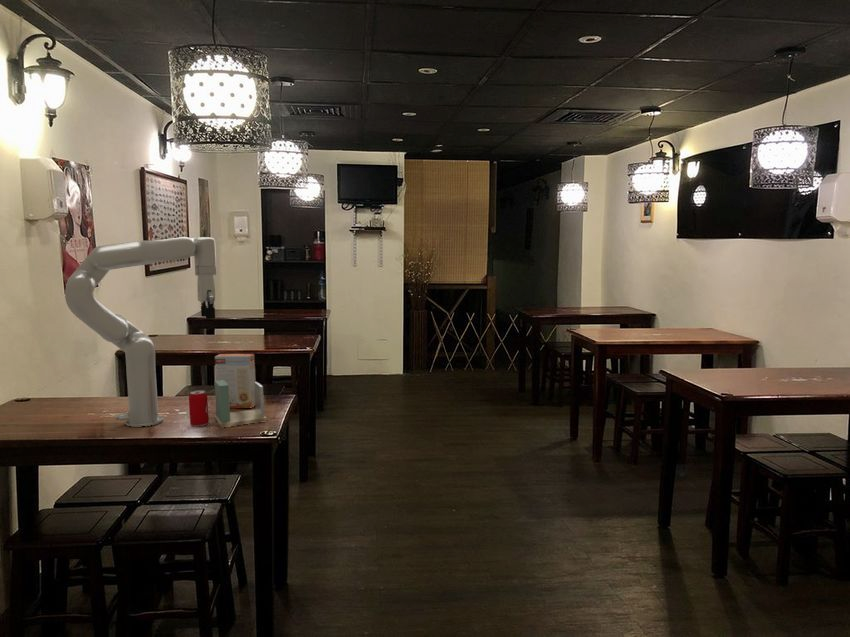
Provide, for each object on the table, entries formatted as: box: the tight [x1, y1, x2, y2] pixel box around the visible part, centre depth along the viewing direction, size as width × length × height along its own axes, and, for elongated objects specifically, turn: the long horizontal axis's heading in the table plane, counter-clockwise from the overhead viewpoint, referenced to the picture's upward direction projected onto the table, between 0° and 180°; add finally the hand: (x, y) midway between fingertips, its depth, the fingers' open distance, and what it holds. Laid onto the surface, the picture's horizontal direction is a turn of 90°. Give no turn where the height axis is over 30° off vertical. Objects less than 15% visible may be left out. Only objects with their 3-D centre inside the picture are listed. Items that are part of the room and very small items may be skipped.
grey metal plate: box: [254, 381, 265, 417], centre depth 239 cm, size 1×9×11 cm, turn 28°
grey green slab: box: [214, 380, 231, 422], centre depth 233 cm, size 3×10×13 cm, turn 28°
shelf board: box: [213, 409, 268, 429], centre depth 236 cm, size 16×14×2 cm
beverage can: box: [188, 389, 210, 427], centre depth 230 cm, size 6×6×12 cm
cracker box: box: [214, 353, 256, 409], centre depth 254 cm, size 14×6×21 cm, turn 84°
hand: (208, 317), depth 241 cm, fingers open, 9 cm apart
